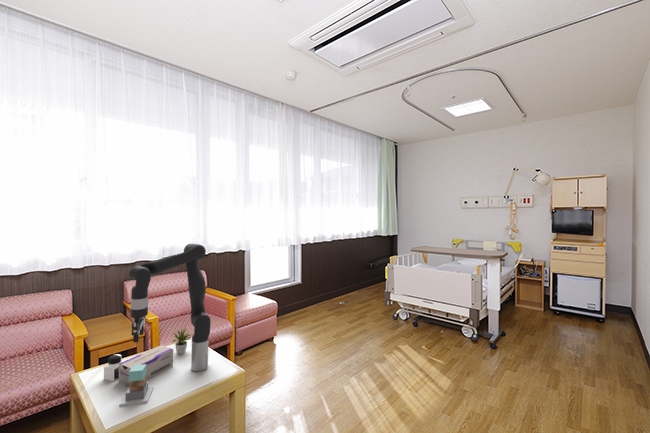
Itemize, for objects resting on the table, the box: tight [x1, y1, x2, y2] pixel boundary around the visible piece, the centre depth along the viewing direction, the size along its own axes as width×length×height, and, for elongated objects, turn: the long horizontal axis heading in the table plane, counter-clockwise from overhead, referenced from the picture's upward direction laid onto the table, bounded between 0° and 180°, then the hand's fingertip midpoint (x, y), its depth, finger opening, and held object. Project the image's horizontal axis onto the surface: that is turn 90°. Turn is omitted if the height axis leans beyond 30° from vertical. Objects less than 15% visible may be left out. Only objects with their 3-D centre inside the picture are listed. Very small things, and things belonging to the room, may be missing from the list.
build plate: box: [119, 381, 155, 407], centre depth 152 cm, size 12×12×5 cm
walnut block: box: [130, 373, 148, 391], centre depth 152 cm, size 6×6×5 cm
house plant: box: [172, 326, 193, 355], centre depth 196 cm, size 14×14×16 cm
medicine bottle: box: [103, 353, 122, 382], centre depth 168 cm, size 7×7×12 cm
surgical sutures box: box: [118, 344, 174, 388], centre depth 172 cm, size 25×11×11 cm, turn 155°
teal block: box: [129, 364, 146, 382], centre depth 151 cm, size 6×6×5 cm
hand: (138, 338), depth 151 cm, fingers open, 8 cm apart
